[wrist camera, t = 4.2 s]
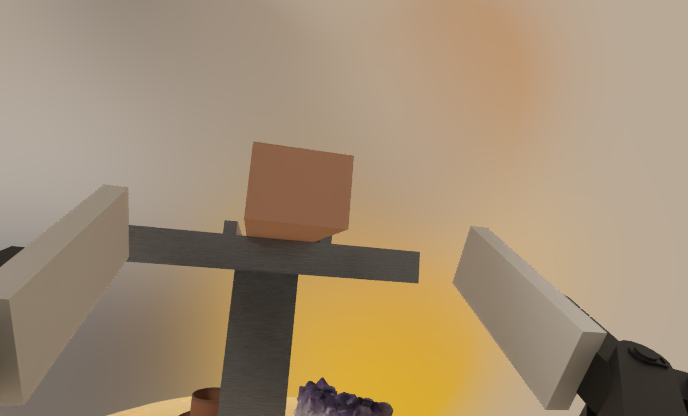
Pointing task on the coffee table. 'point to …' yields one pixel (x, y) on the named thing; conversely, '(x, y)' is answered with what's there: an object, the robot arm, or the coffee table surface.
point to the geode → (336, 402)
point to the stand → (264, 298)
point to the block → (297, 193)
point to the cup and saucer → (204, 402)
